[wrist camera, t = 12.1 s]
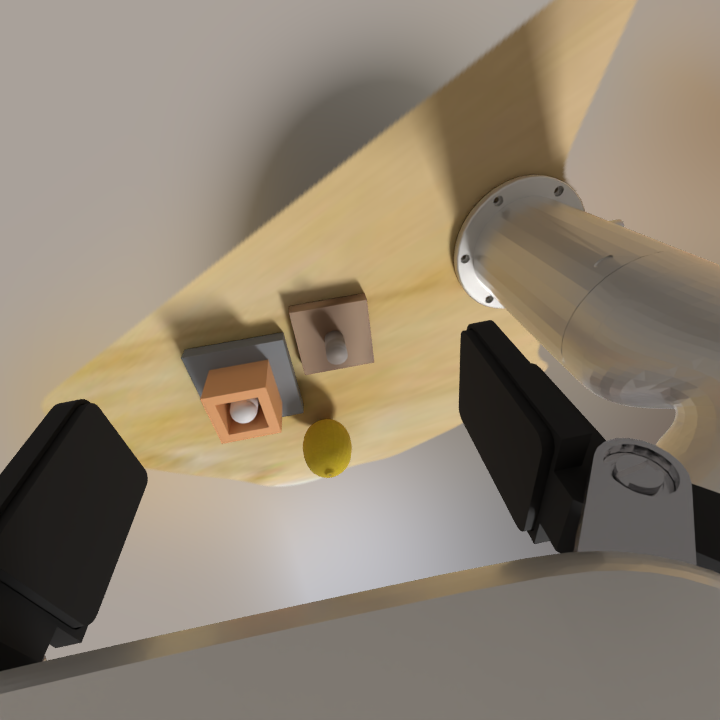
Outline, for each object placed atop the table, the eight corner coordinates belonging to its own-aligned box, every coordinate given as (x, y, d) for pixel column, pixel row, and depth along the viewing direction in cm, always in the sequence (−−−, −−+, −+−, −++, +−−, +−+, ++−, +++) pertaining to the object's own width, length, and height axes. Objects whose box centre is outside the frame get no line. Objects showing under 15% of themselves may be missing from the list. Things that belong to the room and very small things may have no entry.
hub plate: (283, 332, 38) (281, 368, 33) (303, 404, 44) (304, 444, 39) (184, 349, 38) (167, 389, 33) (218, 420, 44) (208, 463, 39)
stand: (364, 293, 37) (372, 314, 34) (371, 354, 42) (379, 379, 38) (289, 306, 37) (288, 329, 33) (304, 366, 41) (305, 393, 38)
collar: (268, 359, 38) (265, 387, 35) (282, 402, 42) (281, 432, 38) (209, 370, 38) (200, 399, 34) (228, 413, 41) (222, 443, 38)
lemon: (295, 432, 47) (295, 486, 40) (313, 400, 44) (316, 452, 38) (335, 442, 49) (342, 495, 42) (354, 412, 46) (365, 464, 40)
